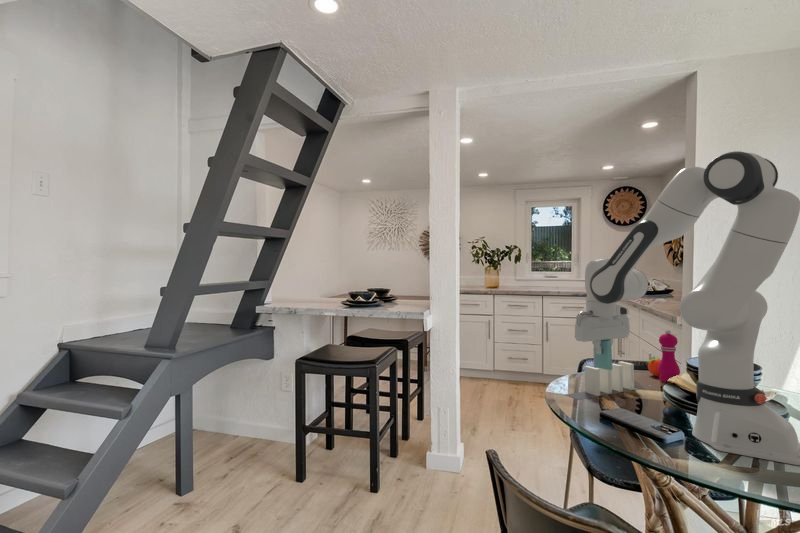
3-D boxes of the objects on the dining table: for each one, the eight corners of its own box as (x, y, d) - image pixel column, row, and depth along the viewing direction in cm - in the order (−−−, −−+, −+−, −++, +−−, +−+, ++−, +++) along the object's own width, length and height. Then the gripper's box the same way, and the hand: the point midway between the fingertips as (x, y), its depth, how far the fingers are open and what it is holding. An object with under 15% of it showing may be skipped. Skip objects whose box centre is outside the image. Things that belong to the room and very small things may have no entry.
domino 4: (611, 387, 151) (610, 362, 151) (623, 391, 146) (622, 365, 146) (607, 388, 150) (607, 363, 150) (619, 391, 145) (619, 366, 145)
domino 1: (588, 391, 146) (587, 365, 146) (600, 395, 142) (599, 368, 142) (585, 391, 146) (584, 366, 146) (596, 395, 141) (596, 369, 141)
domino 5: (621, 385, 153) (621, 361, 153) (634, 389, 148) (633, 364, 148) (618, 386, 152) (618, 361, 152) (631, 389, 147) (630, 364, 148)
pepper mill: (680, 385, 154) (679, 331, 154) (657, 383, 158) (656, 330, 158) (679, 381, 160) (678, 329, 160) (657, 378, 164) (656, 328, 164)
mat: (624, 386, 154) (624, 384, 154) (639, 390, 148) (639, 389, 148) (564, 396, 143) (564, 394, 143) (577, 401, 137) (577, 399, 137)
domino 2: (599, 366, 134) (597, 338, 135) (612, 369, 130) (611, 340, 130) (595, 367, 134) (594, 339, 134) (608, 370, 129) (607, 341, 130)
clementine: (651, 378, 164) (651, 360, 164) (641, 374, 171) (641, 356, 171) (672, 378, 164) (671, 360, 164) (661, 374, 171) (661, 356, 171)
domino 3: (599, 389, 148) (599, 364, 149) (611, 393, 144) (611, 367, 144) (596, 390, 148) (596, 364, 148) (608, 393, 143) (607, 367, 143)
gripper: (584, 312, 126) (586, 358, 125) (632, 308, 133) (634, 352, 133) (568, 311, 131) (570, 355, 131) (615, 308, 139) (617, 349, 139)
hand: (603, 353), depth 132 cm, fingers closed on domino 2, 2 cm apart
